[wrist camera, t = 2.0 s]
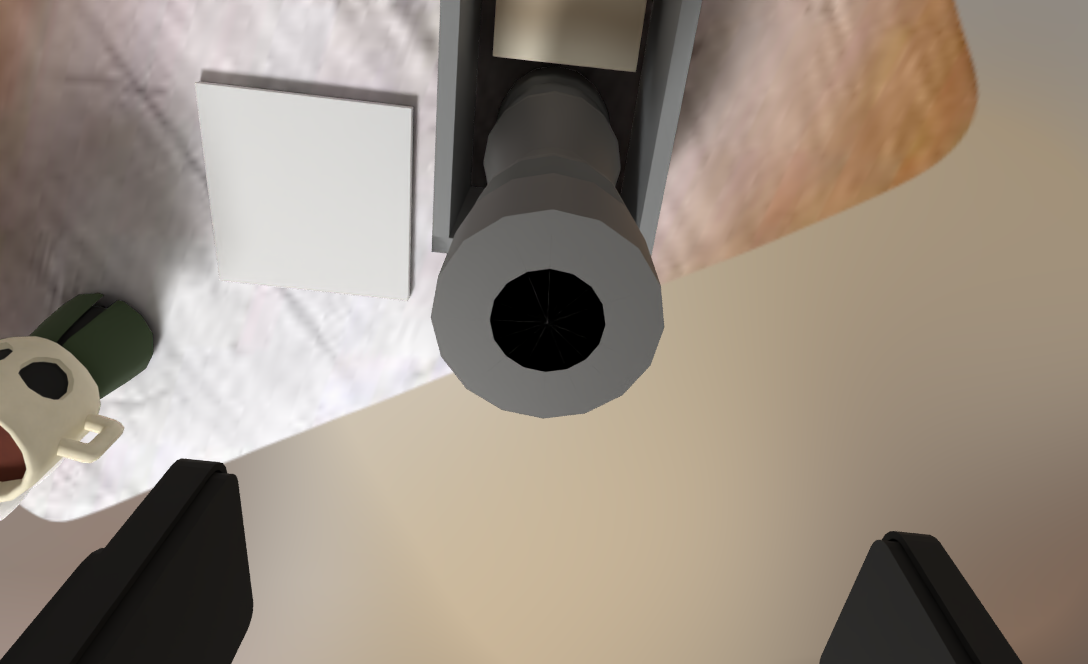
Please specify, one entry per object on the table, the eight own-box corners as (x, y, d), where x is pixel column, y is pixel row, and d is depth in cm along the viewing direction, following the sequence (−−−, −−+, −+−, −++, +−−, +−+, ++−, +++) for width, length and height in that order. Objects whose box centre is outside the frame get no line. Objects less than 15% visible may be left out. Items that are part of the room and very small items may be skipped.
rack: (472, -118, 33) (445, -148, 25) (684, -90, 33) (724, -111, 25) (456, 197, 41) (431, 251, 33) (630, 217, 41) (647, 275, 33)
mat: (199, 81, 38) (194, 82, 37) (413, 106, 38) (411, 108, 38) (223, 276, 43) (219, 280, 43) (409, 297, 44) (407, 301, 43)
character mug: (201, 315, 45) (78, 433, 33) (186, 398, 48) (68, 531, 36) (30, 257, 43) (-164, 359, 31) (25, 346, 46) (-152, 469, 35)
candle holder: (499, 63, 37) (413, 192, 15) (611, 67, 37) (692, 204, 15) (498, 174, 40) (425, 421, 18) (603, 179, 40) (659, 431, 18)
